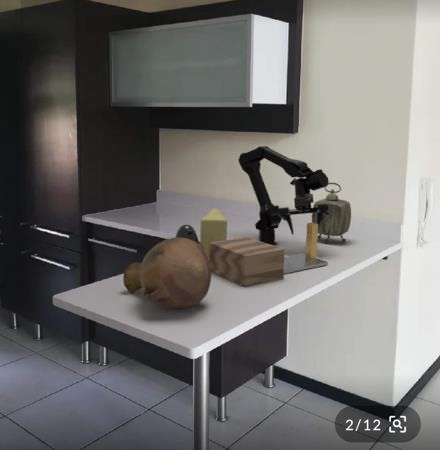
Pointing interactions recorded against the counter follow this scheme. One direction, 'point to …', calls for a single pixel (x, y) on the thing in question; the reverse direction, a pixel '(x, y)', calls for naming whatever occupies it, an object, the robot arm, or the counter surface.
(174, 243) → the jug
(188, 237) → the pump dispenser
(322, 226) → the tabletop clock
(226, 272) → the brown wooden block
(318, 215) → the robot arm
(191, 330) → the counter surface
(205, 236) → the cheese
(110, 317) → the counter surface
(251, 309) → the counter surface
